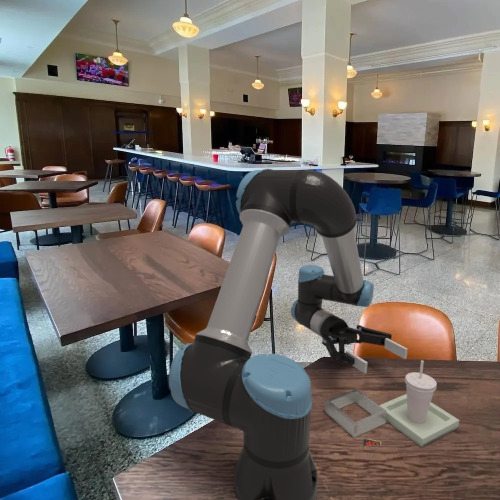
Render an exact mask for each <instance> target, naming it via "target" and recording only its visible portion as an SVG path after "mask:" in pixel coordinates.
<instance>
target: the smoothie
mask: <svg viewBox="0 0 500 500" xmlns="http://www.w3.org/2000/svg"><path fill="white" fill-rule="evenodd" d="M424 362H425V361H424V360H423V359H422V360H420V367H419V372H413V371H412V372H409V373H407V374H406V375H405V376H404V377H405V379H404V383H405V385H406V389H405V390H406V394H407V416H408V419H409V420H410V421H412V422H414V423H418V424H422V423H424V422H425V420H426V416H427V413H428V410H429V406H430V403H432V399H433V396H434V392H435V391H436V390H437V389H438V388H437V384H438V383H437V381H436V380H435V379H434V378H433V377H432V376H430V375H428V374H426V373H423V372H424V371H423V370H424Z"/></svg>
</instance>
